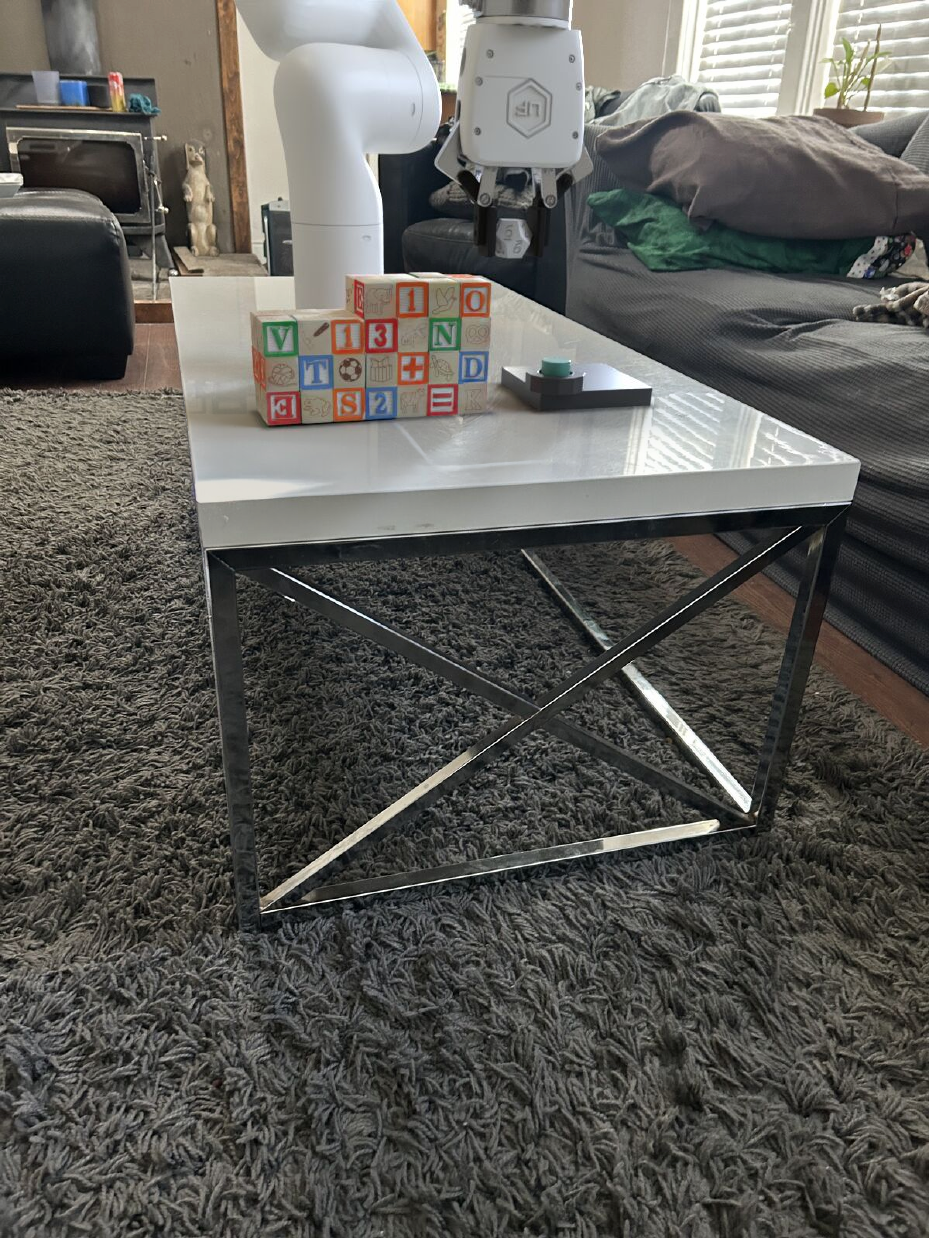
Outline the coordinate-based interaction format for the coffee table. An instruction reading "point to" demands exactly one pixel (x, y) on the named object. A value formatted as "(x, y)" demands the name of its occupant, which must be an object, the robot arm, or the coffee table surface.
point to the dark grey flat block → (576, 388)
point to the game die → (512, 238)
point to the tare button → (555, 366)
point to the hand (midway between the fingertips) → (510, 253)
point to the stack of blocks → (377, 351)
